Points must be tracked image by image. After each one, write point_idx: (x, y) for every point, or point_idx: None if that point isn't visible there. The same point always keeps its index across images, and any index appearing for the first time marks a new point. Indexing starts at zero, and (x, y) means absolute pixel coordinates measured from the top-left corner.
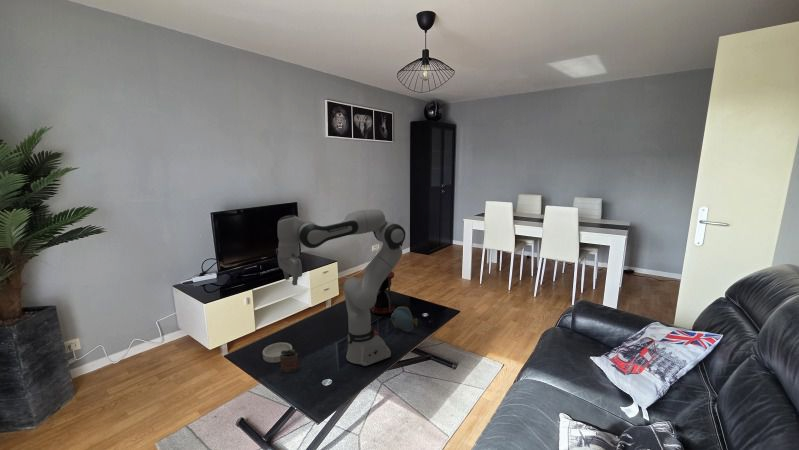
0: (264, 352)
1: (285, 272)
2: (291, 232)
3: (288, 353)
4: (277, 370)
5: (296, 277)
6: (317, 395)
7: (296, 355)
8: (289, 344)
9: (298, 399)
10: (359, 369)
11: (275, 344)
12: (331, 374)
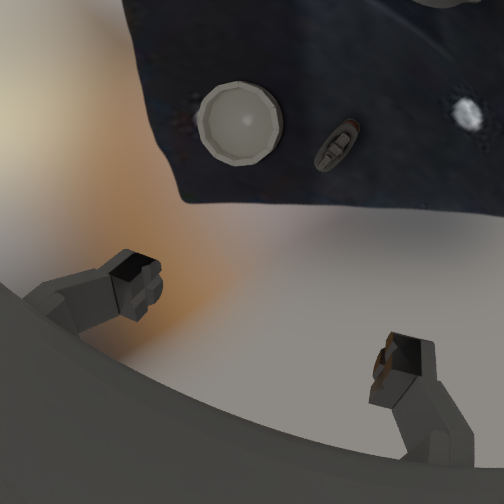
0: (227, 158)
1: (77, 318)
2: None
3: (340, 154)
4: None
5: (456, 455)
6: (489, 169)
7: (356, 133)
8: (231, 84)
9: (464, 204)
10: (484, 24)
11: (203, 115)
12: (451, 82)
